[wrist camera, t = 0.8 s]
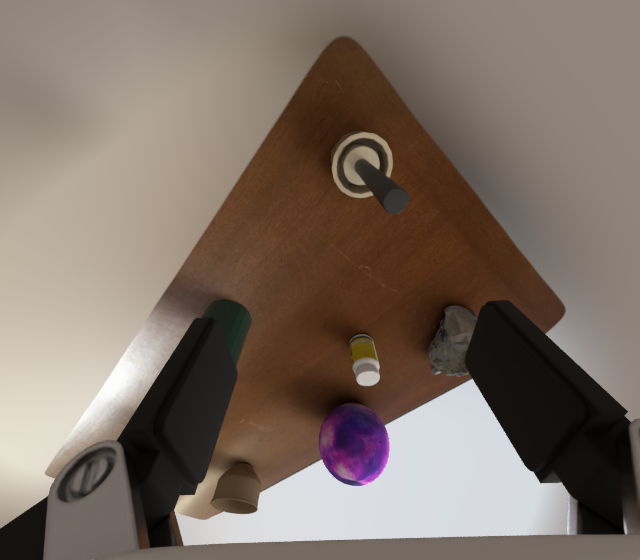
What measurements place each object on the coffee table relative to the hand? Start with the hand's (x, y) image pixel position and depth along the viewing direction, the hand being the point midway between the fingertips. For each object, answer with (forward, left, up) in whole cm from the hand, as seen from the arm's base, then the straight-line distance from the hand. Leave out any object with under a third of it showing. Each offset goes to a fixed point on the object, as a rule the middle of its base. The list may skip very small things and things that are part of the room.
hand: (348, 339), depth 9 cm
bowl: (+50, -68, -30) cm, 90 cm away
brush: (0, +5, -29) cm, 29 cm away
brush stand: (0, +5, -30) cm, 30 cm away
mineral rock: (+35, +2, -30) cm, 46 cm away
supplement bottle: (+28, -12, -30) cm, 43 cm away
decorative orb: (+45, -26, -30) cm, 60 cm away
